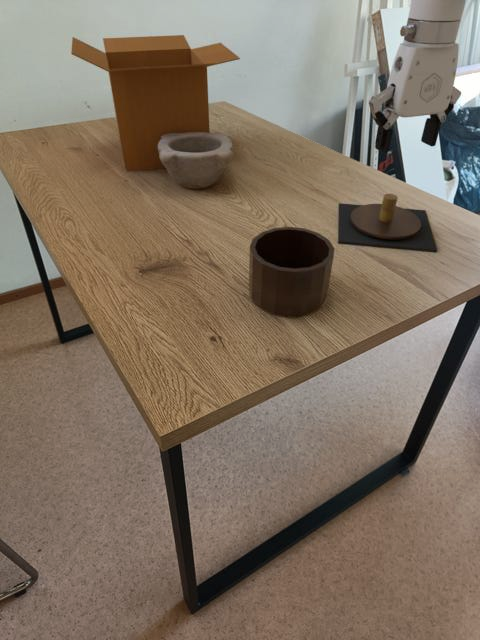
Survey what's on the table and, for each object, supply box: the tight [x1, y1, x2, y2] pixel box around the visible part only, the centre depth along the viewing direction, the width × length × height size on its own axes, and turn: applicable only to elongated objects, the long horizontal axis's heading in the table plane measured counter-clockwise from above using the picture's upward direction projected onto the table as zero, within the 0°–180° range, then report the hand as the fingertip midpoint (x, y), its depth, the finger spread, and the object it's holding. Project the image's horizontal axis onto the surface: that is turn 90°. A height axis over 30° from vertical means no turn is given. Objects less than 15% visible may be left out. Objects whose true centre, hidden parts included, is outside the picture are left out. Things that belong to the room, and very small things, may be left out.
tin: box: [248, 226, 335, 318], centre depth 71 cm, size 13×13×8 cm
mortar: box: [158, 131, 235, 190], centre depth 104 cm, size 17×17×9 cm
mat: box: [337, 203, 438, 253], centre depth 90 cm, size 18×16×1 cm
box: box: [70, 34, 241, 172], centre depth 112 cm, size 36×40×26 cm
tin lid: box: [350, 193, 421, 239], centre depth 88 cm, size 14×14×6 cm
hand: (404, 147), depth 79 cm, fingers open, 9 cm apart
